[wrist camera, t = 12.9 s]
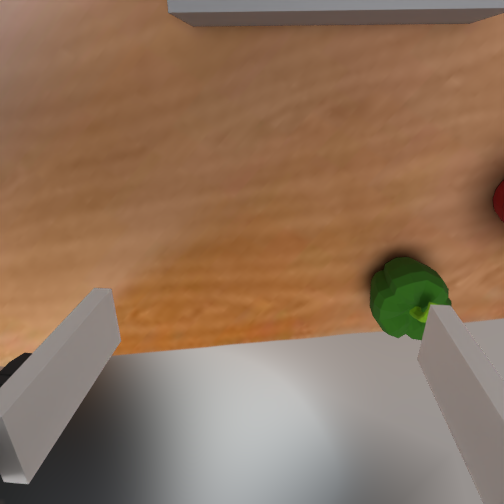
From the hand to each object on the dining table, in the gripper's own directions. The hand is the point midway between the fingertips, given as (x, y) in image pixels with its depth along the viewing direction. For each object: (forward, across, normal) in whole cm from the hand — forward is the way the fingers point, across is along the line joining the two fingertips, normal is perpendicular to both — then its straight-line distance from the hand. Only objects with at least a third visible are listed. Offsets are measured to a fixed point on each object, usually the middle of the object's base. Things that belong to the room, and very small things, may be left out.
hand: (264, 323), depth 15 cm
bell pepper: (+29, +15, -13) cm, 35 cm away
